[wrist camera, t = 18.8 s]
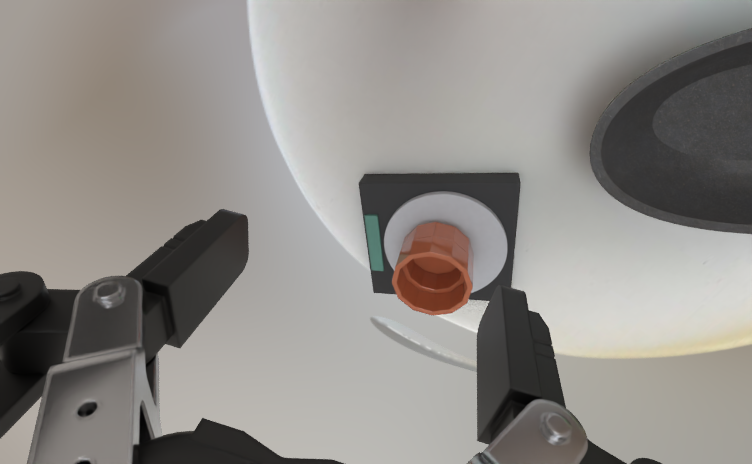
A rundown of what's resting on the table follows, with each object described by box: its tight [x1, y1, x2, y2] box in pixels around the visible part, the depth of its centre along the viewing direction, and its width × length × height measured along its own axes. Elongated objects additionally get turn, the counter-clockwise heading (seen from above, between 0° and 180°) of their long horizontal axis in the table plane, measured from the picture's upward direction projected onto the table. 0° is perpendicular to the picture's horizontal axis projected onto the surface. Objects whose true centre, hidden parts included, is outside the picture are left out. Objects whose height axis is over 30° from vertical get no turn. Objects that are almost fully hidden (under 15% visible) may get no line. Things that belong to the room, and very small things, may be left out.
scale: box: [359, 173, 520, 301], centre depth 35 cm, size 13×12×3 cm
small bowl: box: [392, 222, 474, 315], centre depth 32 cm, size 6×6×5 cm
